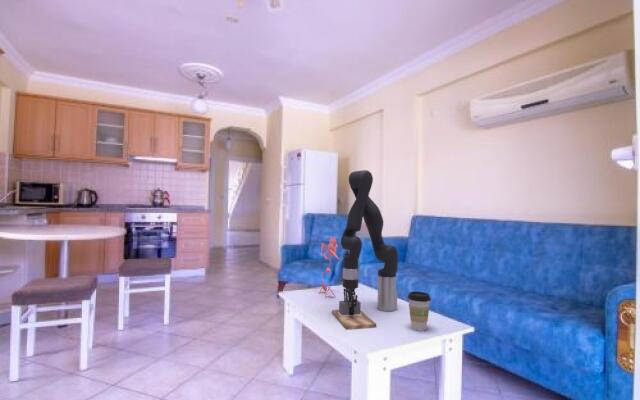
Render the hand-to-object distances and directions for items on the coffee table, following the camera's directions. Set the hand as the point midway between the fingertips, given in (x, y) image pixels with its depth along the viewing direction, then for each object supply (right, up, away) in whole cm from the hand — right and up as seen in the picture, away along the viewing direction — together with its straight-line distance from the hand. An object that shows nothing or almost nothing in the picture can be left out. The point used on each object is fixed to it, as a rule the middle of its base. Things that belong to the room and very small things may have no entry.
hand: (349, 312), depth 157 cm
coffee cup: (+29, -3, -13) cm, 32 cm away
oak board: (+1, -2, -3) cm, 4 cm away
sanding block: (0, -1, 0) cm, 1 cm away
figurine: (-7, -3, +40) cm, 41 cm away
